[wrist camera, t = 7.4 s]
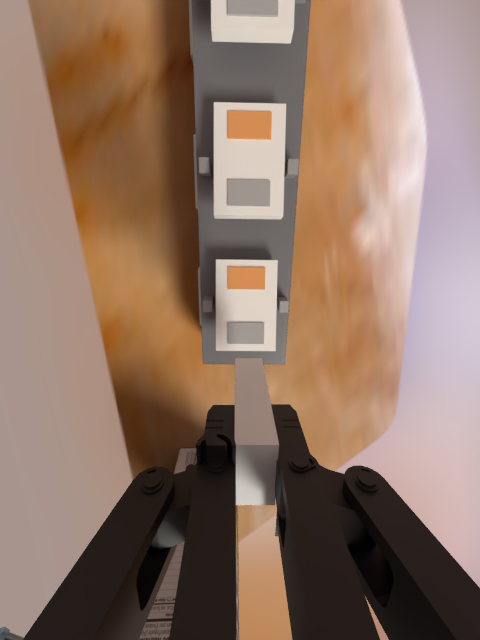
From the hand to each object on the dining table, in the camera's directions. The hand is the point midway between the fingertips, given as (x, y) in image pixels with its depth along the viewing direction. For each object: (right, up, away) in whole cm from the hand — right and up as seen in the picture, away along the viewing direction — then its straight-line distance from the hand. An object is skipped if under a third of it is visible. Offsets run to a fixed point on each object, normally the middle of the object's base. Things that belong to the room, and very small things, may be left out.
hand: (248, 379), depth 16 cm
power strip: (0, +14, +6) cm, 16 cm away
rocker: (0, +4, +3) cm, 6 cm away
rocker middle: (0, +12, +1) cm, 13 cm away
